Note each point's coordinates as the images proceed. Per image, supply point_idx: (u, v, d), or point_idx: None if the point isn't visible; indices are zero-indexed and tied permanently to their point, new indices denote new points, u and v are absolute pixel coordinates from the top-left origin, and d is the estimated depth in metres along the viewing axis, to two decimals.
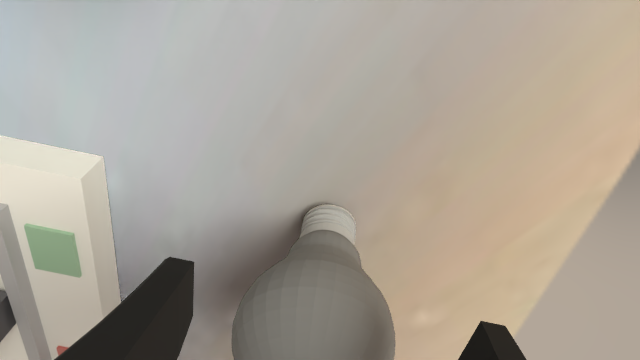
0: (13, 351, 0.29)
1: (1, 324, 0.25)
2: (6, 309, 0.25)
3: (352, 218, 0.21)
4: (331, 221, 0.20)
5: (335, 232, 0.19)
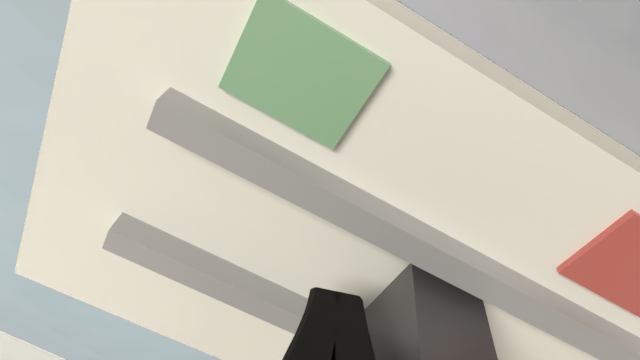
0: (520, 350, 0.14)
1: (458, 314, 0.11)
2: (438, 288, 0.12)
3: None
4: None
5: None
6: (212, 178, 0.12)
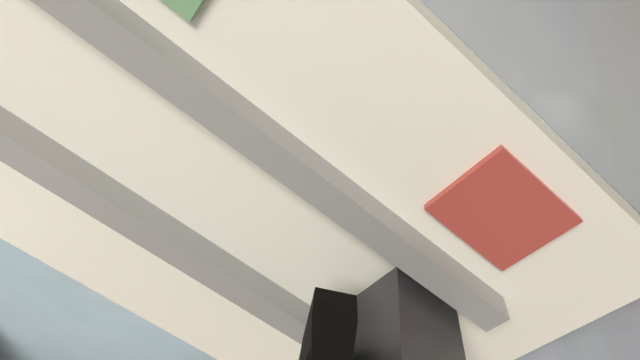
0: None
1: (436, 323, 0.12)
2: (419, 295, 0.12)
3: None
4: None
5: None
6: (54, 42, 0.10)
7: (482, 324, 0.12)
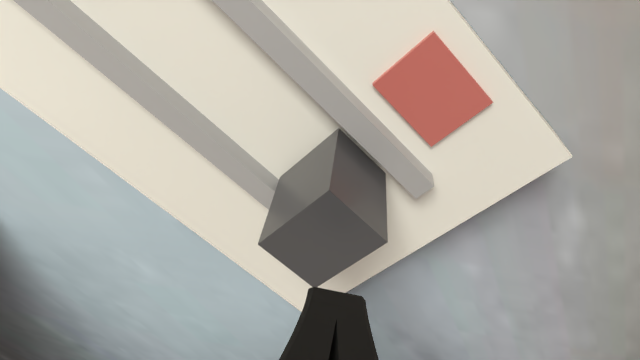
0: None
1: (365, 171, 0.15)
2: (354, 151, 0.15)
3: None
4: None
5: None
6: None
7: (412, 190, 0.15)
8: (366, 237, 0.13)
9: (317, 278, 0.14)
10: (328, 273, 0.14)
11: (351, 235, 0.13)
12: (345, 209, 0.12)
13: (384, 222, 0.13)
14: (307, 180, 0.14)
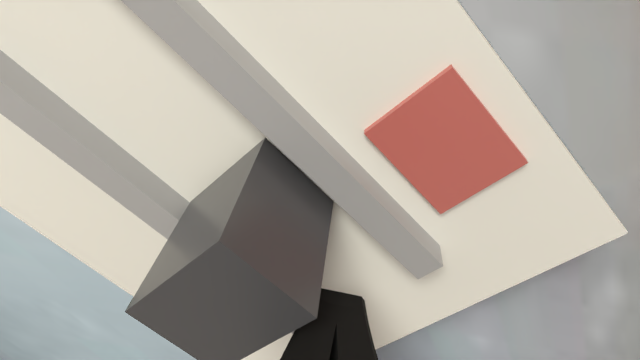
0: None
1: (299, 201, 0.10)
2: (285, 171, 0.10)
3: None
4: None
5: None
6: None
7: (414, 270, 0.12)
8: (284, 310, 0.08)
9: (219, 359, 0.09)
10: (234, 354, 0.09)
11: (261, 306, 0.08)
12: (247, 269, 0.08)
13: (316, 282, 0.09)
14: (207, 215, 0.09)
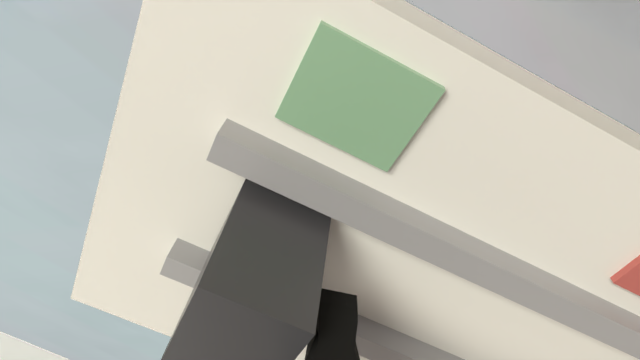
0: (572, 358, 0.14)
1: (289, 226, 0.10)
2: (271, 202, 0.11)
3: None
4: None
5: None
6: None
7: None
8: (283, 334, 0.09)
9: None
10: None
11: (262, 335, 0.09)
12: (233, 305, 0.08)
13: (313, 299, 0.09)
14: (206, 263, 0.10)
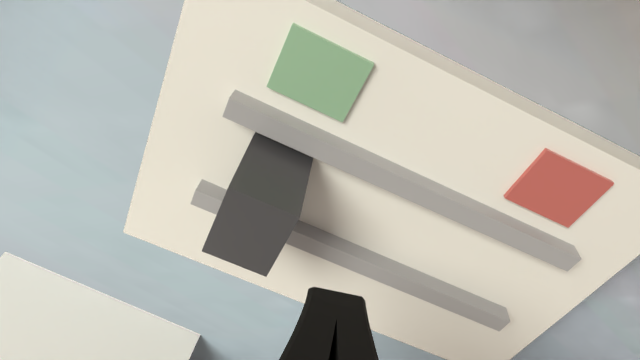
0: (489, 263, 0.19)
1: (284, 162, 0.16)
2: (272, 147, 0.16)
3: None
4: None
5: None
6: None
7: (563, 266, 0.18)
8: (280, 218, 0.14)
9: (263, 267, 0.15)
10: (269, 260, 0.15)
11: (267, 220, 0.14)
12: (249, 199, 0.14)
13: (299, 201, 0.15)
14: None
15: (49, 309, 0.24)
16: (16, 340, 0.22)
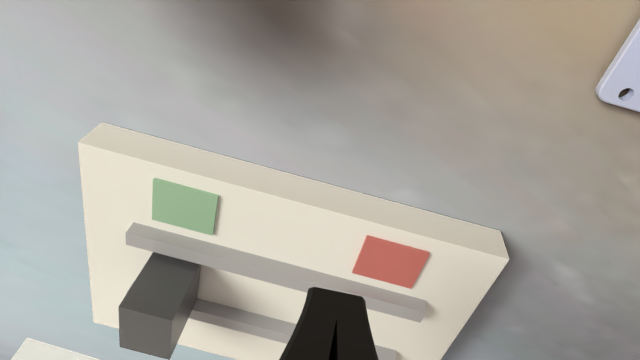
0: None
1: (173, 271, 0.21)
2: (166, 260, 0.22)
3: None
4: None
5: None
6: None
7: (414, 319, 0.22)
8: (160, 322, 0.20)
9: (164, 353, 0.21)
10: (166, 348, 0.21)
11: (152, 324, 0.20)
12: (135, 312, 0.19)
13: (176, 305, 0.20)
14: None
15: None
16: None
